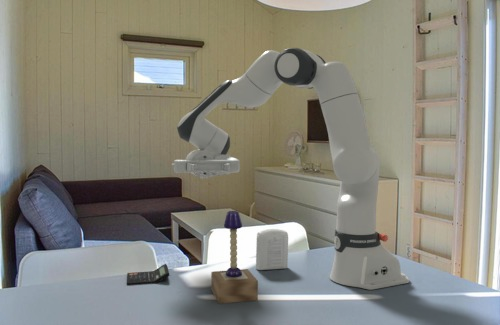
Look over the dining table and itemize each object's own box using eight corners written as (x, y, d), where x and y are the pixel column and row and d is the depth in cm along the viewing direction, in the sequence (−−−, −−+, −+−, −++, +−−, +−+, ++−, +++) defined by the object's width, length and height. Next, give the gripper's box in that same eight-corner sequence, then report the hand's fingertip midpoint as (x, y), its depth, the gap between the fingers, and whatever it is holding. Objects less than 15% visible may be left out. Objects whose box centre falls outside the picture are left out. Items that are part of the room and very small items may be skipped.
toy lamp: (240, 278, 114) (240, 213, 113) (222, 277, 115) (222, 212, 114) (243, 272, 119) (243, 210, 118) (225, 271, 119) (226, 209, 118)
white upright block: (284, 265, 144) (285, 227, 143) (289, 269, 140) (290, 229, 139) (254, 267, 141) (254, 228, 140) (258, 271, 137) (258, 231, 136)
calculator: (127, 275, 133) (127, 265, 133) (167, 273, 136) (167, 263, 135) (126, 286, 124) (126, 275, 123) (169, 283, 127) (169, 272, 126)
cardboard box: (247, 287, 123) (247, 268, 123) (257, 300, 113) (257, 279, 113) (211, 290, 120) (211, 270, 120) (218, 303, 111) (218, 282, 110)
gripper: (170, 154, 141) (175, 156, 128) (233, 154, 146) (244, 156, 133) (170, 174, 141) (175, 179, 128) (233, 173, 147) (244, 177, 133)
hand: (211, 167), depth 131 cm, fingers open, 8 cm apart
